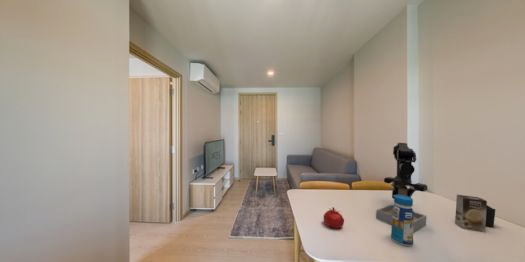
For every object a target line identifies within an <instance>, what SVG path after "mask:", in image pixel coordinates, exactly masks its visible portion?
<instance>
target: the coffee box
mask: <svg viewBox="0 0 525 262" xmlns="http://www.w3.org/2000/svg"><path fill="white" fill-rule="evenodd" d="M455 202H456V204H455V219H454V224H456V225H457V226H458V227H460V228H462V229H464V230H470V231H478V232H483V233H486V227H485V226H486V209H487V205H488V201H487V200H485V199H483V198H481V197H478V196H472V195H471V196H470V195H463V194H456V201H455Z"/></svg>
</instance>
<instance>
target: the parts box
mask: <svg viewBox="0 0 525 262" xmlns="http://www.w3.org/2000/svg"><path fill="white" fill-rule="evenodd" d="M393 206H394V204H389V205H386V206H383V207H381V208H377V209H376V210H375V211H376V212H375V213H376V215H375V219H376V220H378V221H381V222H383V223H386V224H388V225H391V226H392V217H391V214H392V207H393ZM413 218H414V220H415V223H414V230H413V232H414V233H416V232H417V231H419V230H421V229H422V228H424V227H426V226H427V215H425V214H422V213H418V212H416V211H414V217H413ZM418 229H419V230H418Z"/></svg>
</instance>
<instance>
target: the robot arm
mask: <svg viewBox="0 0 525 262" xmlns="http://www.w3.org/2000/svg"><path fill="white" fill-rule="evenodd" d="M392 155H394V156H393V157H394V159H395V161H396V175H395V176H394V177H391V176H388V177H387V176H386V177H384V178H383V179H384V180H383V183H385V184H390V186H392V187H393V189H392V191H391V198H392V199H393V200H394V196H395V195H398V189H399V188H405V189H408V197H411V198H412V196H413V195H414V193H415V192H416V191H419V192H426V191H428V185H427V184H423V183H420V182H417V183H413V181H412V176H413V174H414V172H415V171H416V170H415V167H414V165H413V163H416V161H417V154H416V152H415V151H414V150H413V148H410V147H409V146H408V143H406V142H397V144H396V145H395V146H393V148H392ZM408 187H409V188H408ZM393 203H394V202H393ZM393 205H395V203H394V204H393Z"/></svg>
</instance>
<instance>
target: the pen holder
mask: <svg viewBox="0 0 525 262" xmlns="http://www.w3.org/2000/svg"><path fill="white" fill-rule="evenodd" d="M495 217H496V208H493V207H491V206H489V205H488V204H487V209H486V226H485V228H493V227H494V226H495V225H494V224H495V220H496V219H495Z"/></svg>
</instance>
